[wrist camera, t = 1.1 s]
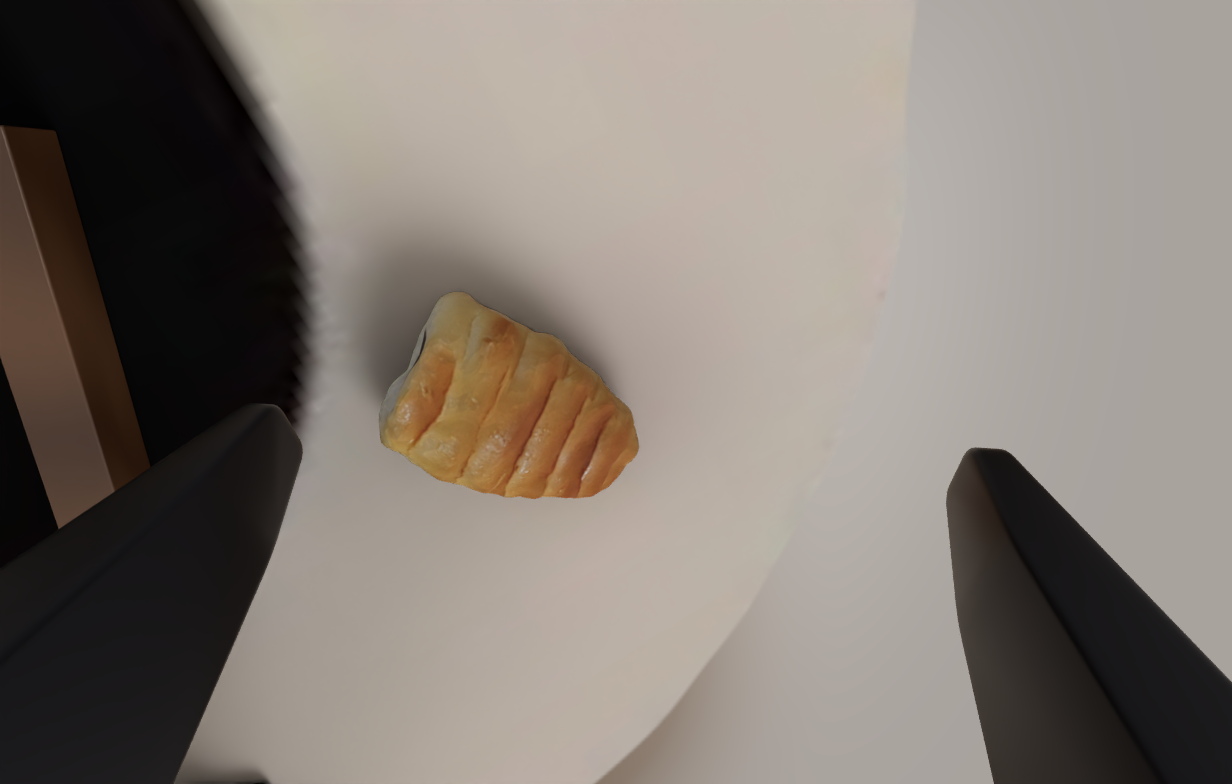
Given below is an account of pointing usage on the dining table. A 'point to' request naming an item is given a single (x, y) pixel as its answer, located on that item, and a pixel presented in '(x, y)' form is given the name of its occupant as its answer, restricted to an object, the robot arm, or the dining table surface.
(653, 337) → the dining table surface
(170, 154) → the dining table surface
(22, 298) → the strip
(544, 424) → the pastry
